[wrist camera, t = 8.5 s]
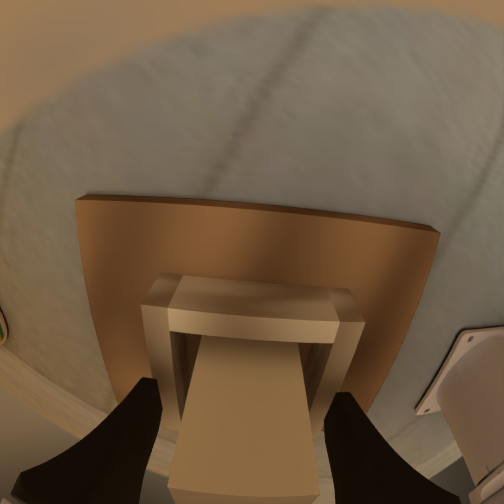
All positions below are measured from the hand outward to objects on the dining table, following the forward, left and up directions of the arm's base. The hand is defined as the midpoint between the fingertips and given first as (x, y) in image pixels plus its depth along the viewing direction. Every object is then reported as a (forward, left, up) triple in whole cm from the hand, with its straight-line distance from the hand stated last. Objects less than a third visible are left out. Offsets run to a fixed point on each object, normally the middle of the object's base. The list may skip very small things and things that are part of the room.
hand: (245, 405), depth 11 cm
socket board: (0, 0, -4) cm, 4 cm away
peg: (0, 0, -3) cm, 3 cm away
